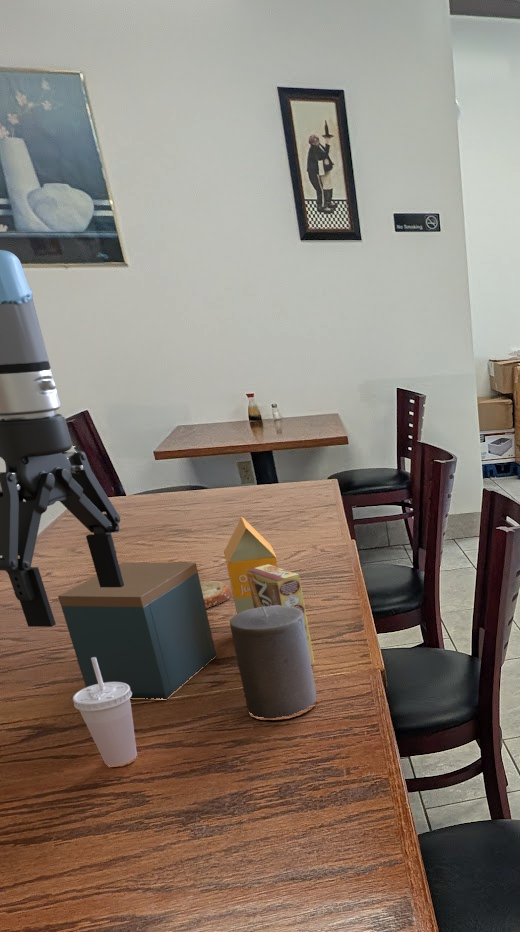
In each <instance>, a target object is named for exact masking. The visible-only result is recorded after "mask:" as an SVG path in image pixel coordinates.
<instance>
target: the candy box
mask: <svg viewBox="0 0 520 932" xmlns="http://www.w3.org/2000/svg"><path fill="white" fill-rule="evenodd" d="M247 576H248V581H249V586H250V590H251V595H252V600H253V605H254V608H259V607H267V606H274V605H281V606H289V607H294V608H297V609H300V611H302V612H303V618H304V624H305V630H306V636H307V642H308V648H309V654H310V660H311V664H312V663H314V662H315V657H314V652H313V646H312V639H311V635H310V629H309V622H308V617H307V611H306V605H305V600H304V594H303V589H302V583H301V577H300V574H299V573H295V572H294V571H290V570H288V569H284V568H280V567H275V566H272V565H269V564H268V565H264V566H260V567H256V568H253V569H249V570H247Z"/></svg>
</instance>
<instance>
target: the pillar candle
mask: <svg viewBox="0 0 520 932" xmlns="http://www.w3.org/2000/svg"><path fill="white" fill-rule="evenodd" d="M229 626H230V632H231V638H232V643H233V647H234V653H235V657H236V662H237V667H238V669H239V674H240V679H241V684H242V688H243V690H242V691H243V693H244V699H245V703H246V708H247V711H248V710H249V712H250V713H252V714H253V715H254V716H258V717H264V718H276V717H282V716H289V715H292V714H294V713H297V712H299V711H301V710H304V709H306V708H307V707H309V706H311V704H313V703H314V701H315V700H316V696H317V690H316V684H315V680H314V672H313V667H312V666H311V660H310V654H309V648H308V642H307V636H306V630H305V624H304V618H303V612H302V611H300V609H297V608H294V607H289V606H281V605H274V606H267V607H259V608H254V609H250V610H246V611H243V612H241V613H238V614H237V613H236V614H235V615H234V616H232V617H231V618H230V619H229Z"/></svg>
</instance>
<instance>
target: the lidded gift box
mask: <svg viewBox="0 0 520 932" xmlns="http://www.w3.org/2000/svg"><path fill="white" fill-rule="evenodd" d="M118 564H119V567H120V571H121V575H122V578H123V582H124V586H123V587H100V584H99V581H98V577H97V575H95V576H94V577H92V578H90V579H88V580H86V581H84V582H82V583H80V584H78V585H76V586H74V587H72V588H70V589H69V590H67V591H65V592H63V593H61V594H60V595H58V596H57V597H58V601H59V604H60V607H61V610H62V614H63V617H64V620H65V624H66V627H67V630H68V634H69V637H70V639H71V644H72V647H73V649H74V650H73V651H74V654H75V657H76V659H77V663H78V667H79V670H80V674H81V676H82V680H83V683H84V686H85V688H86V687H89V686H92V685H96V684H98V681H97V678H96V674H95V671H94V667H93V664H92V661H91V658H93V657H96V659H97V663H98V666H99V670H100V673H101V676H102V680H103V683H106V682H122V683H126V684H128V685H129V686H130V690H131V692H132V696H131V697H130V698H145V699H146V698H148V699H151V698H154V699H156V698H160V699H161V698H163V699H167V698H168V697H169V696H170V695H171V694H172V693H173V692H174V691H176V690H177V689H178V688H179V687H180V686H182V684H184V683H185V682H186V681H187V680H189V678H190V677H191V676H193V675H194V674H195V673H196V672H198V671H199V670H200V669H201V668H202V667H204V666H205V665H206V664H207V663H208V662H209V661H210V660H211V659H213V658H214V657H215V656H216V657H217V652H216V648H215V644H214V638H213V634H212V630H211V625H210V621H209V616H208V612H207V609H206V607H205V602H204V598H203V593H202V589H201V584H200V582H201V579H200V576H199V571H198V567H197V562H139V561H137V562H136V561H135V562H133V561H131V562H130V561H129V562H125V561H124V562H122V561H121V562H120V563H118Z"/></svg>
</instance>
